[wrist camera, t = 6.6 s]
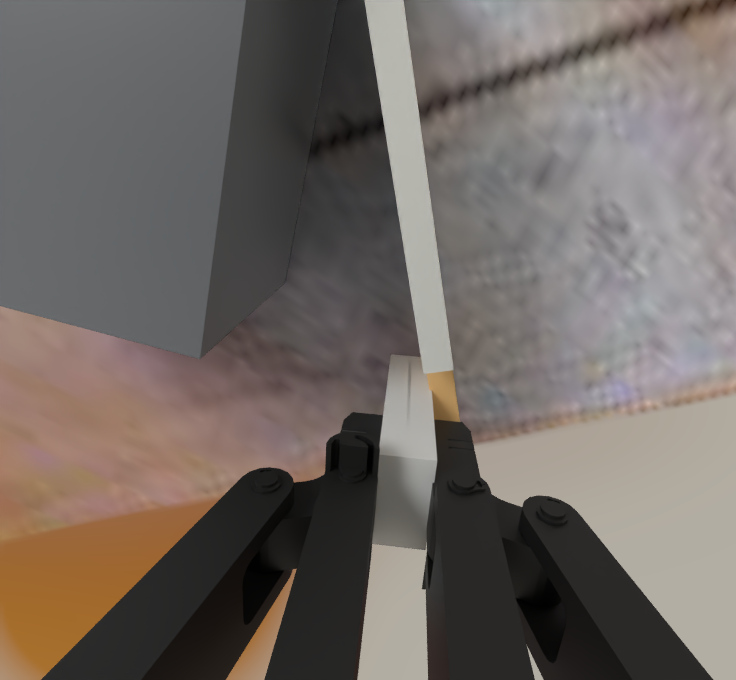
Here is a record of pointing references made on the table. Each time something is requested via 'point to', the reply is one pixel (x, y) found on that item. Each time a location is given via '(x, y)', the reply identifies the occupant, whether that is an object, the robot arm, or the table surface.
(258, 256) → the grey box with knob
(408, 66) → the light grey flat piece
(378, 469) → the robot arm
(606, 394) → the table surface
